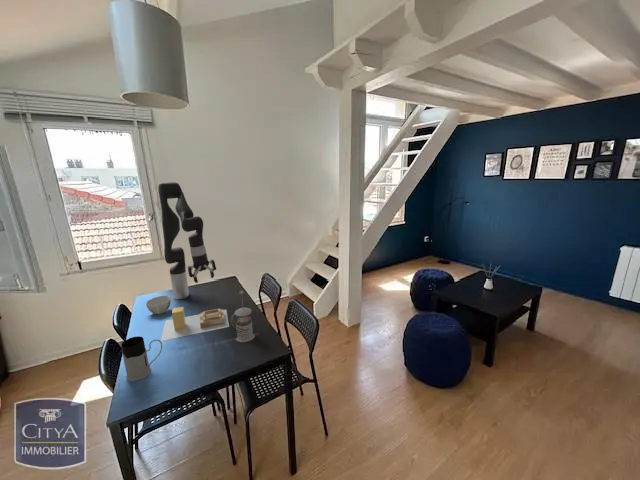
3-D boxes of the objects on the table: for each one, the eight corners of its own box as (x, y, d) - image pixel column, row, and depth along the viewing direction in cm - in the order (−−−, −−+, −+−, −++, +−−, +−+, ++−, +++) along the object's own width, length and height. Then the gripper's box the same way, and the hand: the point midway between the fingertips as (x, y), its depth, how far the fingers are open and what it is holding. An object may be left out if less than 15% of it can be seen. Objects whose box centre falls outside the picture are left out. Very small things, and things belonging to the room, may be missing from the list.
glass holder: (128, 369, 116) (122, 338, 113) (166, 360, 122) (161, 330, 118) (123, 384, 109) (116, 351, 105) (164, 373, 114) (159, 341, 110)
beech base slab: (200, 317, 155) (199, 310, 154) (223, 313, 159) (222, 306, 158) (200, 328, 144) (199, 321, 143) (224, 323, 149) (224, 316, 148)
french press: (249, 343, 134) (246, 296, 127) (228, 340, 136) (223, 294, 130) (258, 331, 143) (255, 287, 137) (237, 329, 145) (233, 285, 139)
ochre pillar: (175, 325, 147) (172, 308, 145) (185, 323, 149) (183, 306, 147) (174, 330, 143) (171, 313, 140) (185, 328, 145) (182, 311, 142)
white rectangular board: (165, 322, 152) (165, 320, 152) (226, 310, 164) (226, 309, 164) (160, 342, 134) (160, 340, 134) (229, 328, 146) (229, 326, 146)
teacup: (149, 310, 165) (147, 297, 163) (172, 305, 171) (171, 293, 169) (146, 322, 152) (143, 309, 150) (171, 317, 157) (169, 304, 155)
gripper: (209, 248, 157) (215, 274, 162) (183, 255, 149) (189, 282, 154) (214, 251, 152) (219, 278, 157) (186, 258, 143) (193, 286, 148)
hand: (204, 280), depth 155 cm, fingers open, 8 cm apart
